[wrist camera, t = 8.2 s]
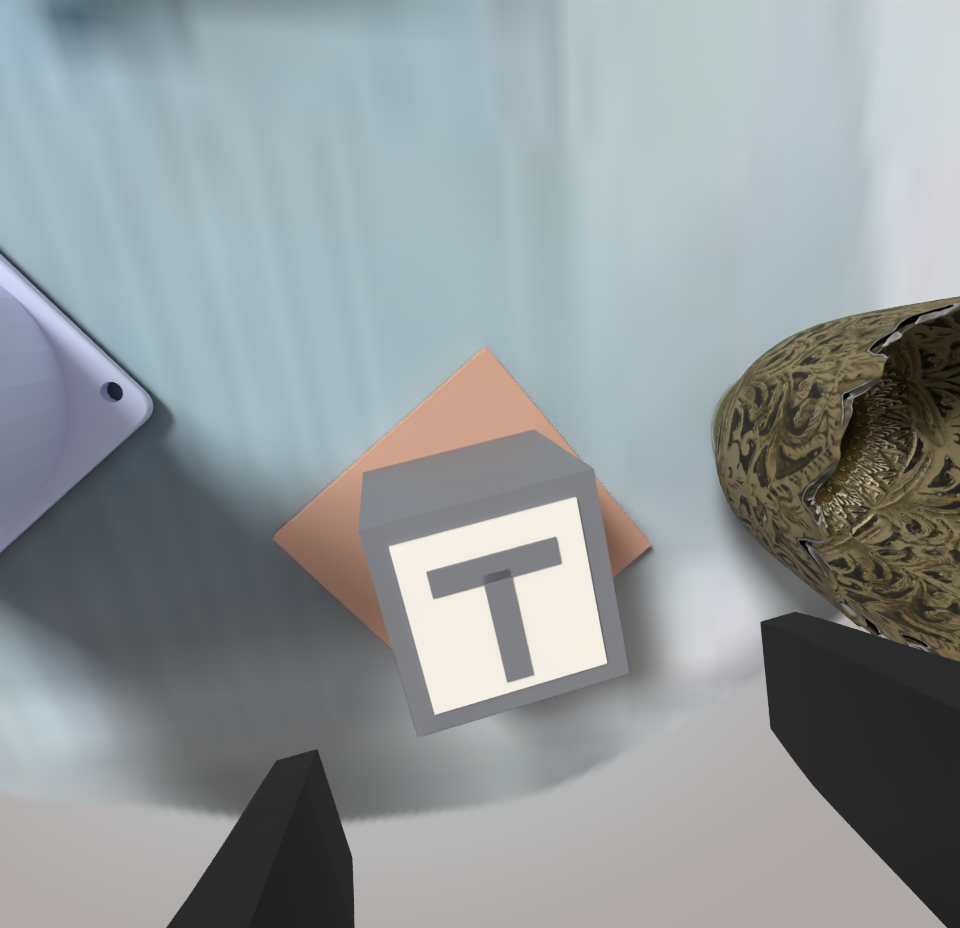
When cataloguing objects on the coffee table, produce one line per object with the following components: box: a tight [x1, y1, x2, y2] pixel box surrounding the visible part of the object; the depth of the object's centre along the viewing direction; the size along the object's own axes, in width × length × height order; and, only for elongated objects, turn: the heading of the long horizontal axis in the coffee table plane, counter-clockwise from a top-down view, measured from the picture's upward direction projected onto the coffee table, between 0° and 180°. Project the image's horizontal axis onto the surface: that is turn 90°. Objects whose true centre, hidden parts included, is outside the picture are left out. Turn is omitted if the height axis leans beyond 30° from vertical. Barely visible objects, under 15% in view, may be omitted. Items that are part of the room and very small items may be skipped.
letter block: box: [358, 429, 630, 738], centre depth 15 cm, size 5×5×5 cm
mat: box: [273, 347, 651, 649], centre depth 18 cm, size 8×8×1 cm
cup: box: [711, 297, 960, 661], centre depth 15 cm, size 8×7×8 cm
